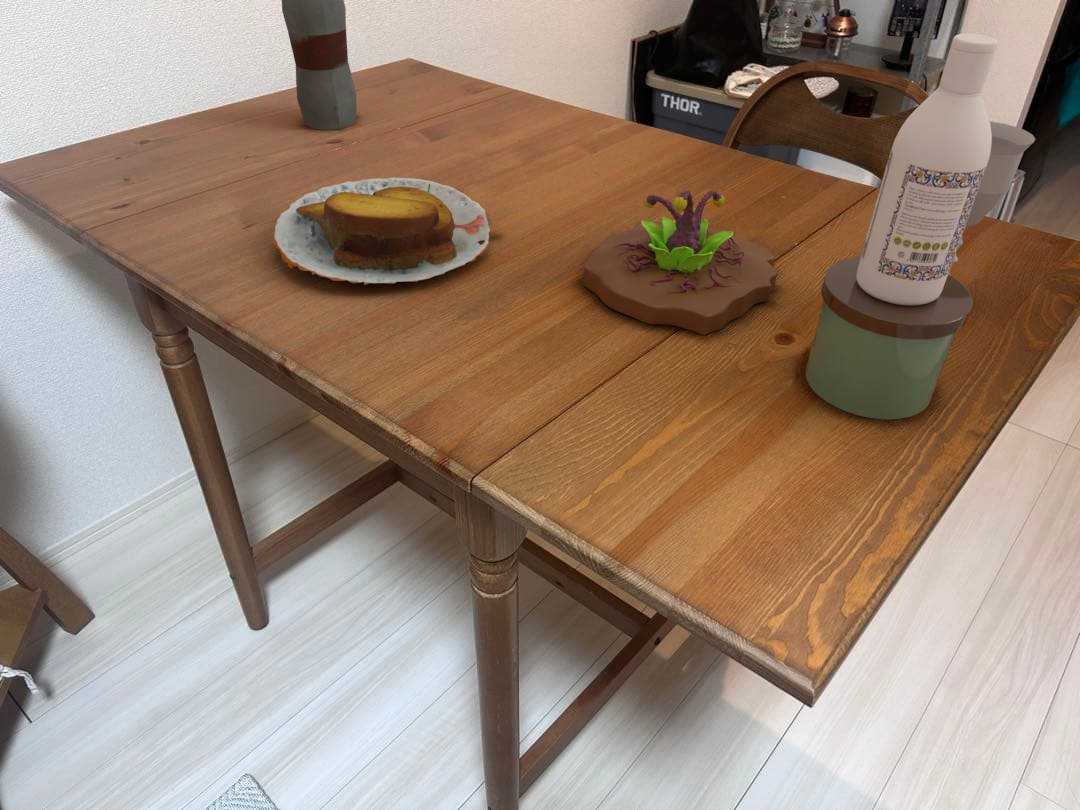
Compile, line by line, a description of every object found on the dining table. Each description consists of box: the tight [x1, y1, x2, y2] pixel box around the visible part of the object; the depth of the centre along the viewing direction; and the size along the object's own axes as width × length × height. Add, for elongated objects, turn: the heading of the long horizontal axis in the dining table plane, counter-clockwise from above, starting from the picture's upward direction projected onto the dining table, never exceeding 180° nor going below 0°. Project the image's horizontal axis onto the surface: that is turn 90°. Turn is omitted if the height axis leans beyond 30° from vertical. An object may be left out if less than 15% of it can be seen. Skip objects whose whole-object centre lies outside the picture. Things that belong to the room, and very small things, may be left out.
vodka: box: [281, 0, 358, 131], centre depth 121 cm, size 9×9×30 cm
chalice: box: [948, 120, 1036, 276], centre depth 83 cm, size 7×7×18 cm
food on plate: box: [272, 176, 495, 286], centre depth 95 cm, size 25×25×7 cm
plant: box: [582, 190, 778, 336], centre depth 87 cm, size 20×20×11 cm
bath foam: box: [856, 33, 999, 305], centre depth 63 cm, size 7×7×20 cm
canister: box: [804, 255, 974, 421], centre depth 73 cm, size 12×12×10 cm
